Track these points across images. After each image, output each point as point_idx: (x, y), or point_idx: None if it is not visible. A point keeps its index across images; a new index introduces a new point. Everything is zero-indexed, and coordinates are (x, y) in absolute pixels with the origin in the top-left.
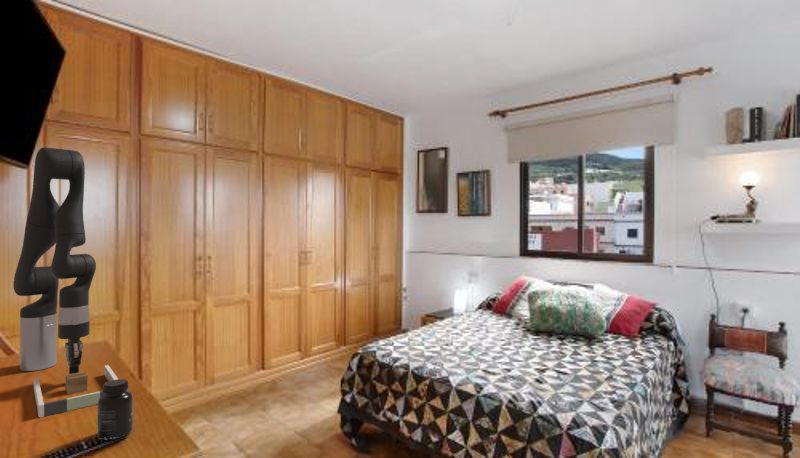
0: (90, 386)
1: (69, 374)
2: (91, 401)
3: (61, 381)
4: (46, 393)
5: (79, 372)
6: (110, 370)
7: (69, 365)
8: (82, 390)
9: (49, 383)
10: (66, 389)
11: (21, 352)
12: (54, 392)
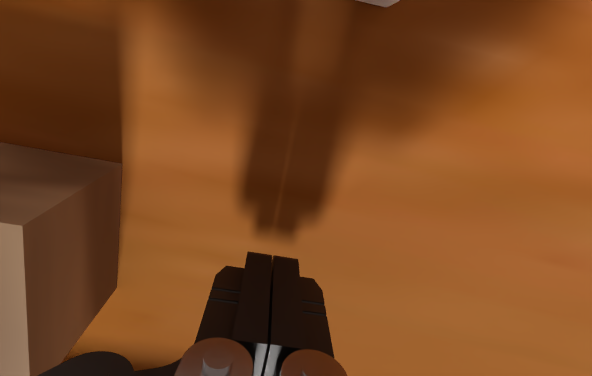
0: None
1: (3, 259)
2: None
3: (400, 204)
4: (144, 15)
5: (17, 354)
6: None
7: (181, 361)
8: None
9: (436, 121)
10: (41, 158)
11: None
12: (120, 76)
